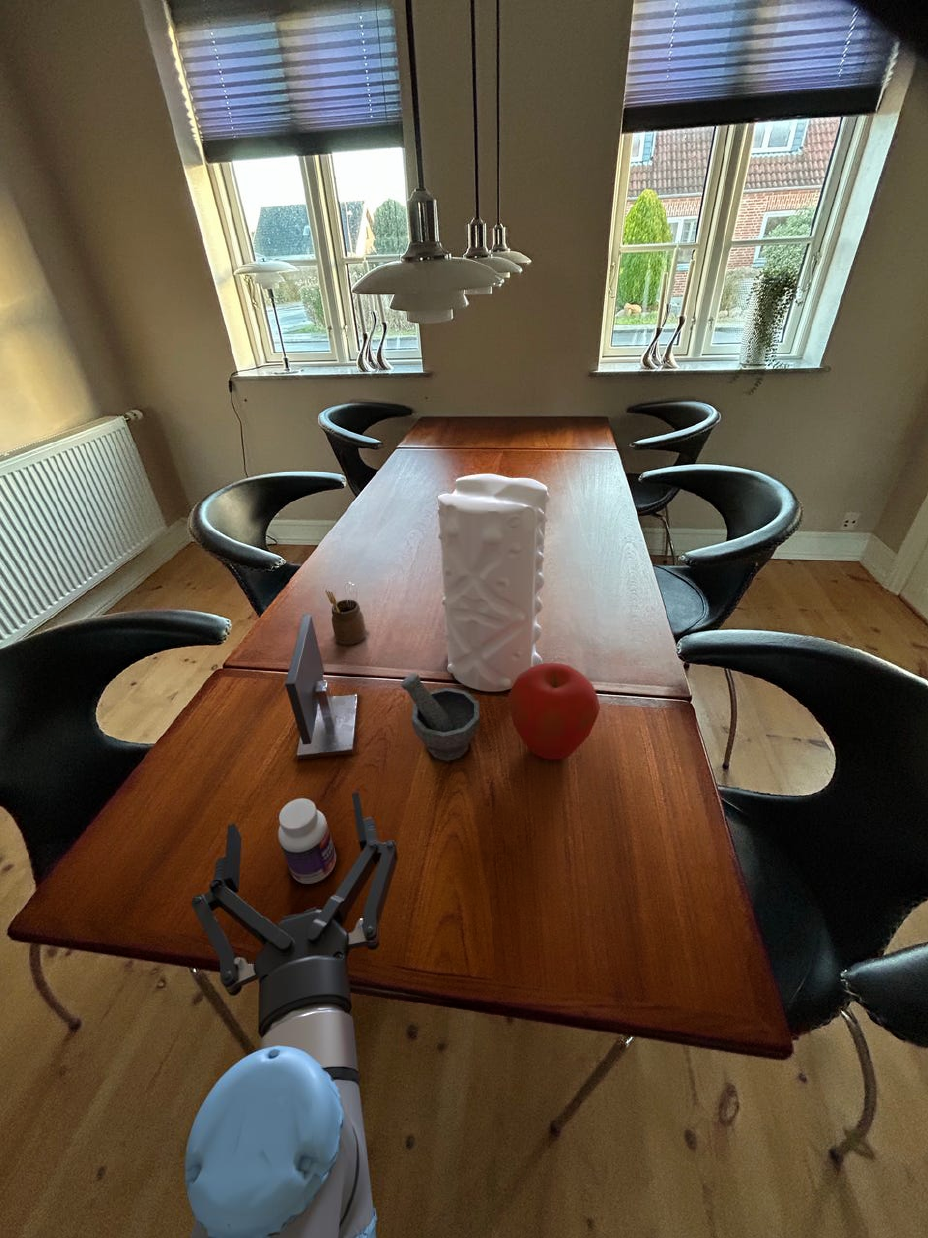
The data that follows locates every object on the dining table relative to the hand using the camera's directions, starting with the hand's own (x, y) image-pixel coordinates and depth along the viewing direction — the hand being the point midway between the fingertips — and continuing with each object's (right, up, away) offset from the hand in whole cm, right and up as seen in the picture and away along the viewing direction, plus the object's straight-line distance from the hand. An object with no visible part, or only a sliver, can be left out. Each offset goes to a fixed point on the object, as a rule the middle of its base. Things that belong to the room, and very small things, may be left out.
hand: (297, 815), depth 61 cm
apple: (+32, +4, +17) cm, 36 cm away
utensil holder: (-3, +19, +42) cm, 46 cm away
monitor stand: (-2, +6, +22) cm, 22 cm away
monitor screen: (-3, +10, +19) cm, 21 cm away
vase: (+24, +14, +33) cm, 44 cm away
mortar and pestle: (+16, +4, +18) cm, 25 cm away
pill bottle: (+1, -7, +3) cm, 8 cm away
